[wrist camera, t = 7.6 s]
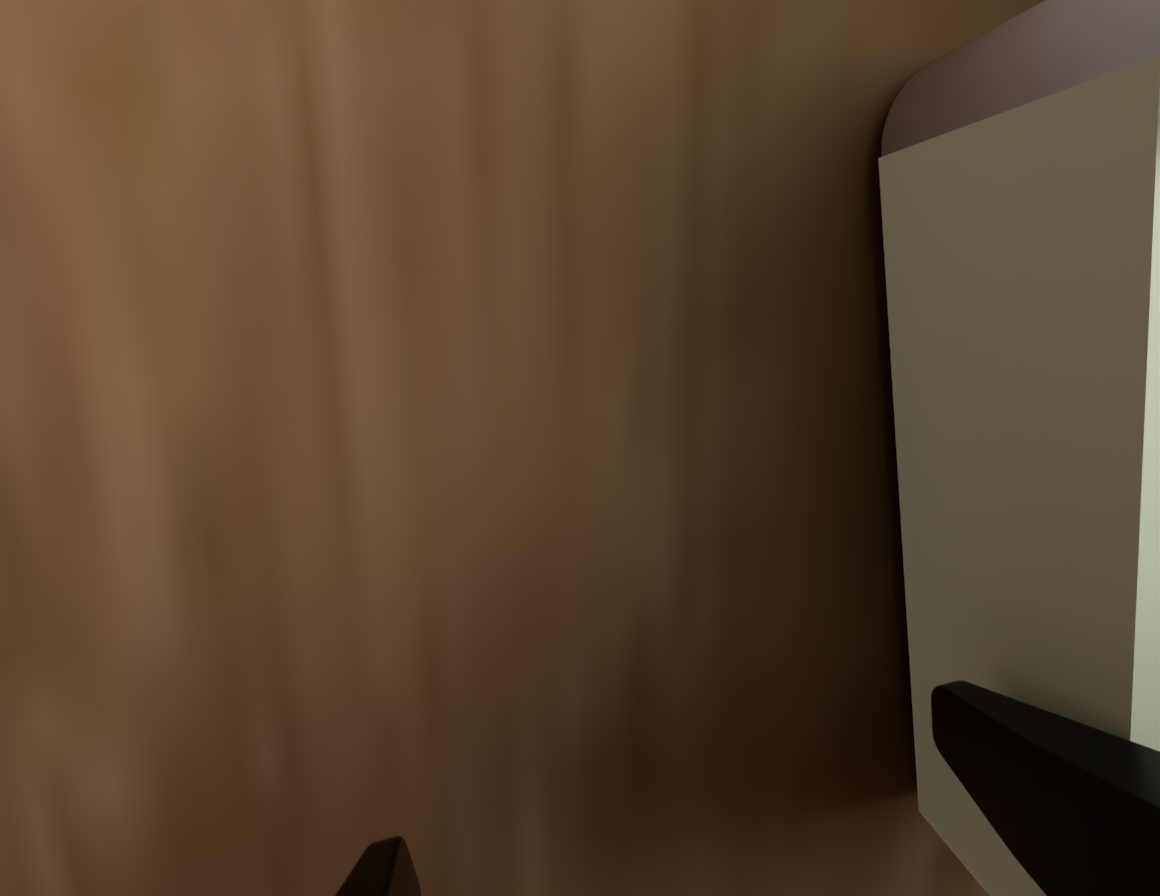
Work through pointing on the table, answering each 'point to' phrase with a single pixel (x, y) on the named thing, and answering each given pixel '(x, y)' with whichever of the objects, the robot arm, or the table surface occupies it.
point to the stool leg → (1028, 381)
